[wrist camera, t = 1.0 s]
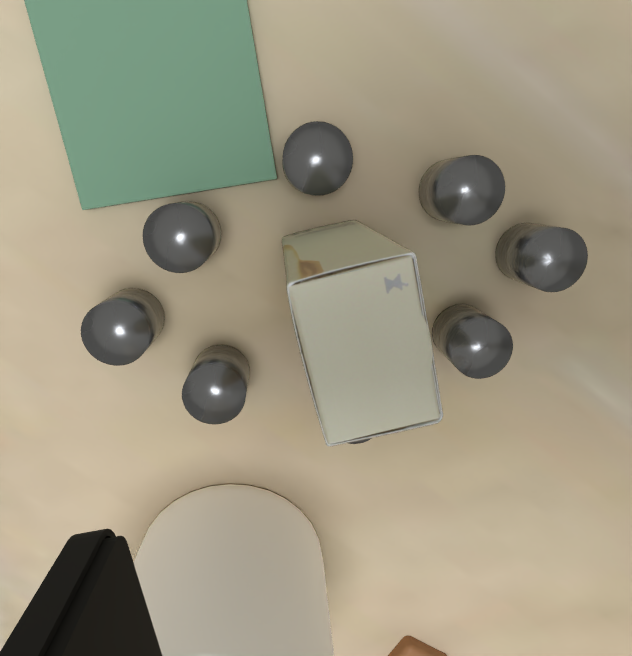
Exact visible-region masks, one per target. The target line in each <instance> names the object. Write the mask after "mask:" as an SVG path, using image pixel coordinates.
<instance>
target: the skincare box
mask: <svg viewBox="0 0 632 656" xmlns="http://www.w3.org/2000/svg"><path fill="white" fill-rule="evenodd" d="M282 246H283V254H284V263H285V271H286V282H287V294H288V300H289V305H290V310H291V315H292V320H293V325H294V330H295V334H296V338H297V342H298V346H299V350H300V354H301V358H302V362H303V366H304V370H305V373H306V377H307V381H308V385H309V388H310V392H311V395H312V399H313V402H314V406H315V409H316V413H317V416H318V419H319V423H320V426H321V429H322V432H323V436H324V439H325V442H326V445H327V446H335V445H339V444H344V443H348V442H354V441H360V440H364V439H369V438H374V437H379V436H384V435H388V434H392V433H397V432H402V431H407V430H411V429H415V428H420V427H424V426H428V425H433V424H437V423H439V422H440V421H441V420H442V417H443V412H442V406H441V399H440V392H439V386H438V380H437V374H436V368H435V363H434V355H433V349H432V344H431V338H430V332H429V327H428V321H427V316H426V310H425V304H424V298H423V293H422V287H421V281H420V276H419V271H418V265H417V258H416V255H415V253H414V252H412V251H410V250H409V249H407V248H405V247H403V246H401V245H399V244H398V243H396V242H394V241H393V240H390V239H389V238H387V237H385V236H383V235H381V234H379V233H378V232H376V231H374V230H372V229H371V228H369V227H367V226H365V225H363V224H362V223H360V222H358V221H356V220H352V221H346V222H341V223H337V224H332V225H327V226H323V227H318V228H314V229H310V230H306V231H302V232H298V233H294V234H291V235H287V236H284V237H283V238H282Z"/></svg>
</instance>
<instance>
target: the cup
mask: <svg viewBox="0 0 632 656" xmlns="http://www.w3.org/2000/svg"><path fill="white" fill-rule="evenodd" d="M134 566H135V569H136V573H137V576H138V579H139V582H140V585H141V589H142V592H143V595H144V598H145V601H146V605H147V608H148V611H149V614H150V617H151V621H152V624H153V627H154V630H155V633H156V637H157V640H158V643H159V646H160V649H161V653H162V656H334V649H333V640H332V632H331V623H330V614H329V606H328V597H327V589H326V580H325V571H324V563H323V557H322V551H321V547H320V542H319V538H318V536H317V534H316V532H315V530H314V528H313V526H312V524H311V522H310V521H309V520H308V519H307V517H306V516H305V515H304V514H303V513H302V511H301V510H300V509H298V508H297V507H296V506H295V505H293V504H292V503H291V502H289V501H288V500H287V499H285V498H283V497H281V496H279V495H277V494H275V493H273V492H271V491H269V490H265V489H261V488H257V487H253V486H249V485H235V484H227V485H217V486H210V487H206V488H203V489H200V490H196V491H193V492H190V493H188V494H187V495H185V496H183V497H181V498H179V499H177V500H175V501H174V502H172V503H171V504H170V505H169V506H168V507H166V508H165V509H164V510H163V511H162V512H160V513H159V515H158V516H157V517H156V519H155V520H154V521H153V522H152V524H151V525H150V526H149V528H148V530H147V533H146V535H145V537H144V539H143V541H142V544H141V546H140V548H139V550H138V553H137V555H136V558H135V560H134Z"/></svg>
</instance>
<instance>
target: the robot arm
mask: <svg viewBox="0 0 632 656" xmlns="http://www.w3.org/2000/svg"><path fill="white" fill-rule="evenodd" d="M0 656H162V653H161V649H160V646H159V643H158V640H157V637H156V633H155V630H154V627H153V624H152V621H151V617H150V614H149V611H148V608H147V605H146V601H145V598H144V595H143V592H142V589H141V585H140V582H139V579H138V576H137V573H136V569H135V566H134V563H133V560H132V556H131V553H130V550H129V547H128V544H127V541H126V539H125V538H124V537H123V536H117V537H116V536H115V534H114V532H113V531H112V530H110V529H103V530H98V531H92V532H86V533H81V534H75V535H73V536H71V537H70V539H69V540H68V541H67V543H66V544H65V546H64V548H63V549H62V551H61V553H60V554H59V556H58V558H57V559H56V561H55V562H54V564H53V566H52V567H51V569H50V571H49V572H48V574H47V576H46V577H45V579H44V581H43V582H42V584H41V585H40V587H39V589H38V590H37V592H36V594H35V595H34V597H33V599H32V600H31V602H30V604H29V605H28V607H27V609H26V610H25V612H24V613H23V615H22V617H21V618H20V620H19V622H18V623H17V625H16V627H15V628H14V630H13V632H12V633H11V635H10V637H9V638H8V640H7V641H6V643H5V645H4V646H3V648H2V650H1V651H0Z"/></svg>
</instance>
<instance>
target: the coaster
mask: <svg viewBox="0 0 632 656" xmlns="http://www.w3.org/2000/svg"><path fill="white" fill-rule="evenodd" d="M24 1H25V5H26V8H27V12H28V16H29V19H30V23H31V27H32V30H33V34H34V37H35V41H36V45H37V48H38V52H39V55H40V59H41V63H42V66H43V70H44V73H45V77H46V81H47V84H48V88H49V91H50V95H51V99H52V102H53V106H54V109H55V113H56V117H57V120H58V124H59V127H60V131H61V135H62V138H63V142H64V146H65V149H66V153H67V156H68V160H69V164H70V167H71V171H72V174H73V178H74V182H75V185H76V189H77V192H78V196H79V200H80V203H81V207H82V210H87V209H93V208H99V207H106V206H112V205H118V204H124V203H130V202H137V201H143V200H149V199H155V198H162V197H168V196H174V195H180V194H186V193H193V192H199V191H205V190H211V189H217V188H224V187H230V186H236V185H242V184H249V183H255V182H261V181H267V180H273V179H277V176H276V170H275V164H274V159H273V153H272V147H271V141H270V135H269V129H268V123H267V117H266V111H265V105H264V100H263V94H262V88H261V82H260V76H259V70H258V64H257V58H256V52H255V46H254V40H253V35H252V29H251V23H250V17H249V11H248V5H247V0H24Z"/></svg>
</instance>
